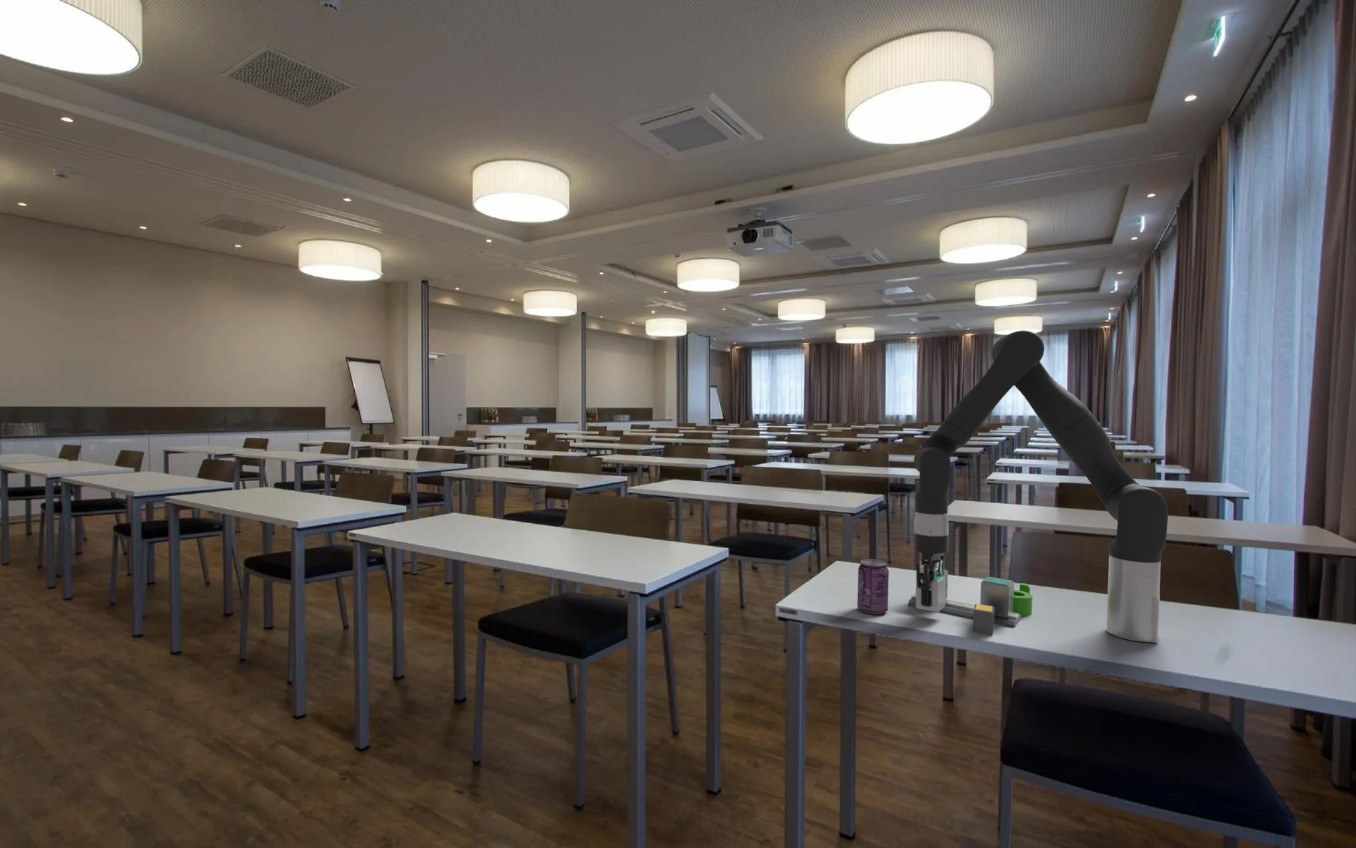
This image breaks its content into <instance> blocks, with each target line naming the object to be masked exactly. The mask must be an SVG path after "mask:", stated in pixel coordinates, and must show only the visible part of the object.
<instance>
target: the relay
mask: <svg viewBox="0 0 1356 848" xmlns="http://www.w3.org/2000/svg"><path fill="white" fill-rule="evenodd" d="M974 605H975V606H974V610H973V618H972V633H977V634H980V635H987V636H988V635H989V636H994V630H995V623H994V607H992V606H987V605H981V604H980V603H975V604H974Z"/></svg>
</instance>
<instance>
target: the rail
mask: <svg viewBox="0 0 1356 848" xmlns="http://www.w3.org/2000/svg"><path fill="white" fill-rule="evenodd" d="M915 571H916V570H915ZM915 574H916V575H915V576H916V577H915V579H916V578H917V571H916V573H915ZM944 577H945V607H944V608H943V609H941V610H940V611H939V612H941V613H946V614H951V615H955V616H960V617H964V618H969V619H973V610H974V606H975V604H973V603H972V604H971V603H968V602H967V603H966V602H963V601H956V600H952V599H948V586H949V585H948V583H949V581H948V579H949V578H948V577H949V570H948V569H947V570H946V568H944ZM1014 590H1015V581H1013V580H1010V579H1006V578H998V577H993V576H987V577H985V578H984V579H983V580H982V581H980V602H979V604H981V605H987V606H992V607H994V624H998V625H1002V626H1003V625H1004V626H1007V627H1011V628H1012V627H1014V628H1015V627H1016V626H1017V625H1018V624H1019V622H1020V621H1022V616H1021V614H1018V613H1013V609H1014ZM908 605H909V606H913V607H916V592H915V593H913V594H912V595H911V596H910V599H908Z"/></svg>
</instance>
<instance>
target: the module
mask: <svg viewBox="0 0 1356 848" xmlns="http://www.w3.org/2000/svg"><path fill="white" fill-rule="evenodd" d="M929 577H931V576H929ZM924 584H926V581H925V580H924ZM915 593H916V606H915V608H916V609H918V610H919V609H920V610H924V611H930V612H934V613H935V612H936V613H939V612H940V610H941V609H943V608H944V607H945V577H943V576H939V575H936V580H935V581H933V582H932V605H931V606H930V607H927V606H923V605H922V604H921V589H920V588H918V587H917V578H916V577H915Z"/></svg>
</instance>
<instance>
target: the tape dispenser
mask: <svg viewBox="0 0 1356 848" xmlns="http://www.w3.org/2000/svg"><path fill="white" fill-rule="evenodd" d="M1013 613H1018V614H1021V617H1029V616H1031V615H1032V614H1033V595H1032V594H1031V588H1030V585H1029V584H1027V583H1023V582H1022V583H1021V582H1020V583H1019V589H1014V609H1013Z"/></svg>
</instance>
